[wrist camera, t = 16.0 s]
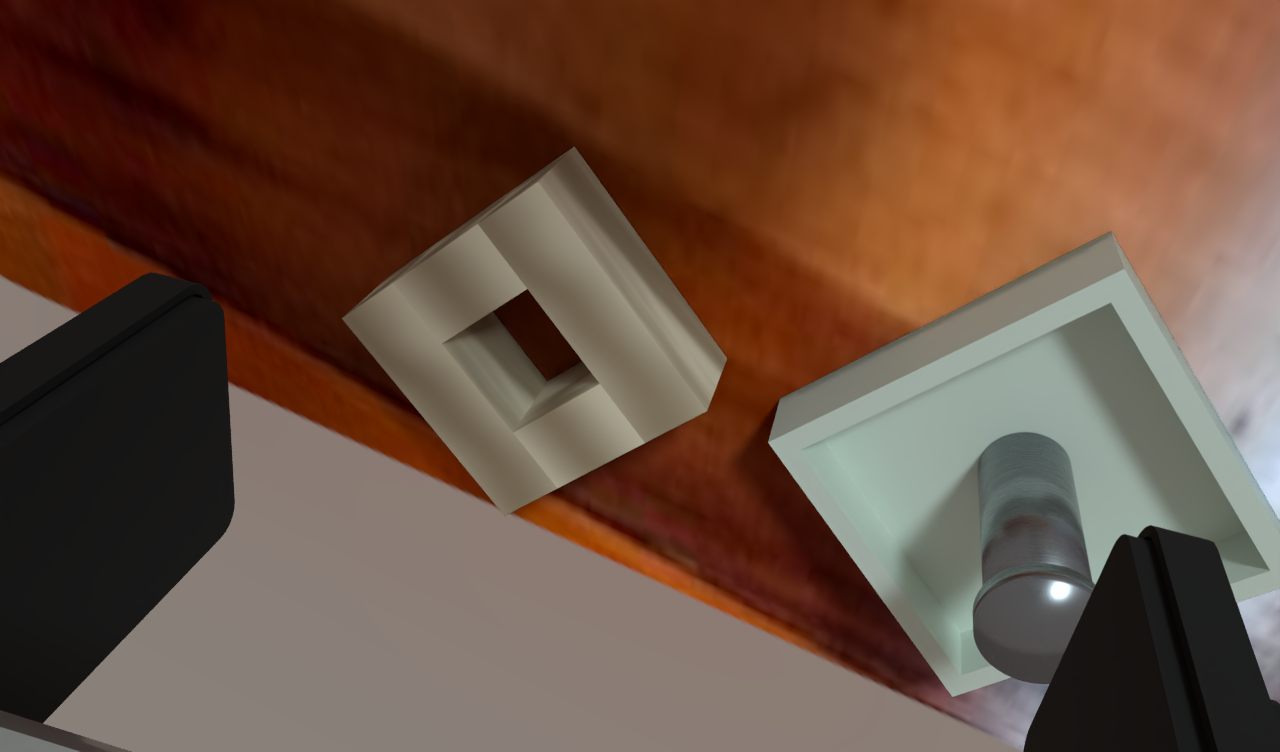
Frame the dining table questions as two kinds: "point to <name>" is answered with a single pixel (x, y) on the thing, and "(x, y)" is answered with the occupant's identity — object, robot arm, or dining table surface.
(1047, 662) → the steel pin
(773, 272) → the dining table surface
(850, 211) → the dining table surface
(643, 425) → the pin block
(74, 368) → the robot arm
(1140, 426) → the tray
